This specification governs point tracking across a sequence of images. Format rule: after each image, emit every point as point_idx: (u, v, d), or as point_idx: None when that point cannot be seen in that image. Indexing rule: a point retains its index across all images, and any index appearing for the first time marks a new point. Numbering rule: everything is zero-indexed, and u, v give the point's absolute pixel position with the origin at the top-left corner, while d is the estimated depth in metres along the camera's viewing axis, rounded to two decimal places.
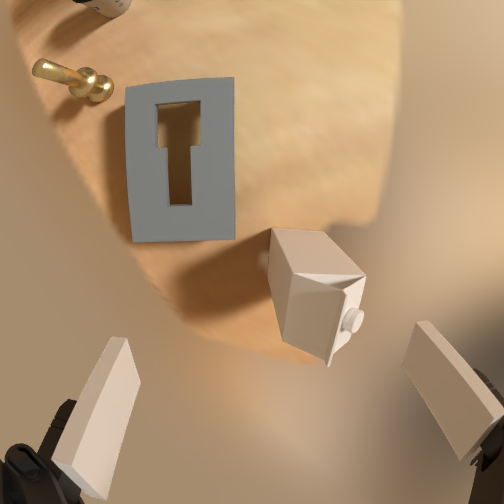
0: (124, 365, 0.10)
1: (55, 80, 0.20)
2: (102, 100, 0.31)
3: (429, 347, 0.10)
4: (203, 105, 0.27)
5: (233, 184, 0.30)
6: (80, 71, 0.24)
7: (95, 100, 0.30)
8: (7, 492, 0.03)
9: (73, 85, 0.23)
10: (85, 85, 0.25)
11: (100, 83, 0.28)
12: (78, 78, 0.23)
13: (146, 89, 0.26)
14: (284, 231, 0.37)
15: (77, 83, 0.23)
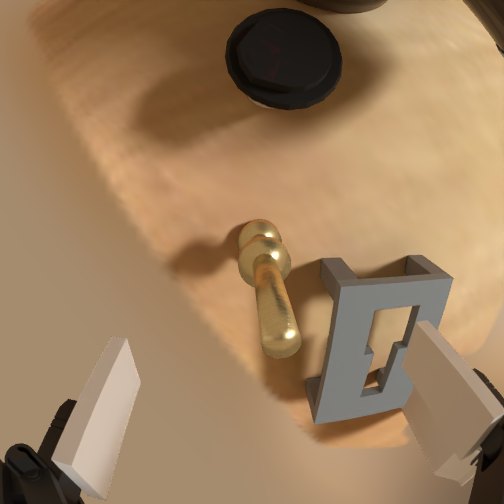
0: (124, 365, 0.10)
1: None
2: None
3: (429, 346, 0.10)
4: (421, 310, 0.23)
5: None
6: (261, 246, 0.21)
7: None
8: (7, 492, 0.03)
9: None
10: None
11: None
12: None
13: (368, 292, 0.22)
14: None
15: None
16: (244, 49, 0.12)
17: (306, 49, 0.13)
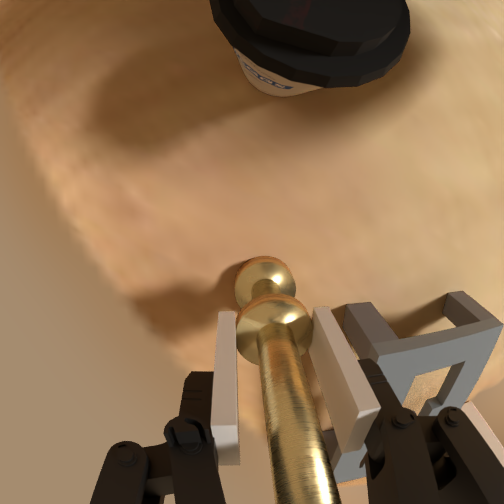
0: (235, 336, 0.13)
1: None
2: None
3: (320, 331, 0.12)
4: (465, 366, 0.16)
5: None
6: (270, 312, 0.13)
7: None
8: (139, 486, 0.05)
9: None
10: None
11: None
12: None
13: (411, 357, 0.15)
14: None
15: None
16: None
17: None
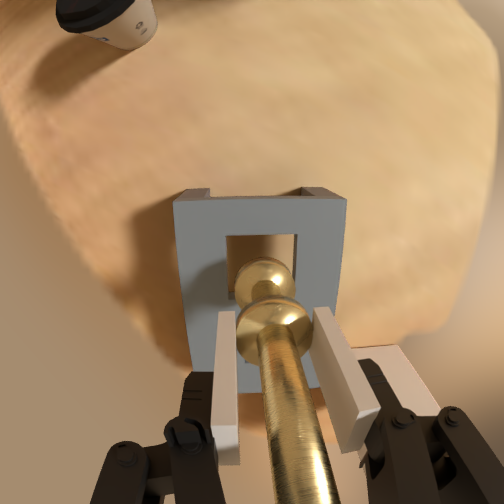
0: (235, 336, 0.13)
1: None
2: None
3: (320, 331, 0.12)
4: (301, 242, 0.20)
5: None
6: (270, 314, 0.13)
7: None
8: (139, 486, 0.05)
9: None
10: None
11: None
12: None
13: (209, 209, 0.19)
14: (363, 356, 0.30)
15: None
16: None
17: None
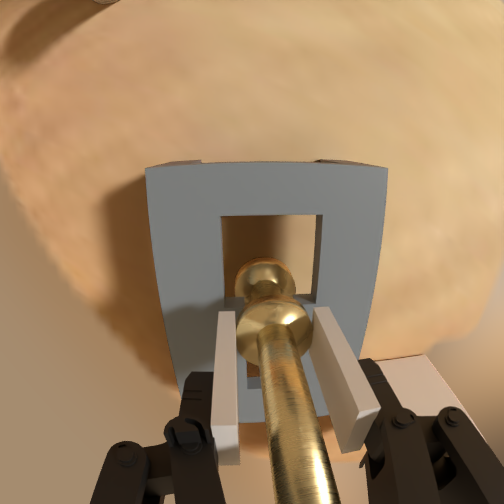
0: (235, 336, 0.13)
1: None
2: None
3: (320, 331, 0.12)
4: (328, 227, 0.14)
5: (358, 356, 0.17)
6: (270, 313, 0.13)
7: None
8: (139, 486, 0.05)
9: None
10: None
11: (281, 295, 0.17)
12: None
13: (197, 178, 0.13)
14: (389, 370, 0.24)
15: None
16: None
17: None
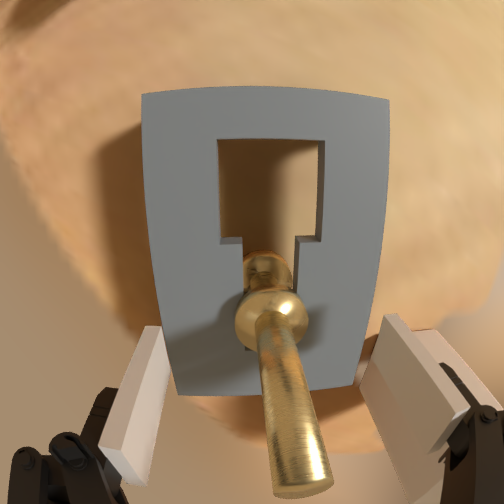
0: (159, 352, 0.11)
1: None
2: None
3: (395, 339, 0.11)
4: (331, 154, 0.13)
5: (369, 311, 0.16)
6: (267, 301, 0.14)
7: None
8: (43, 487, 0.04)
9: None
10: None
11: None
12: None
13: (194, 101, 0.12)
14: None
15: None
16: None
17: None
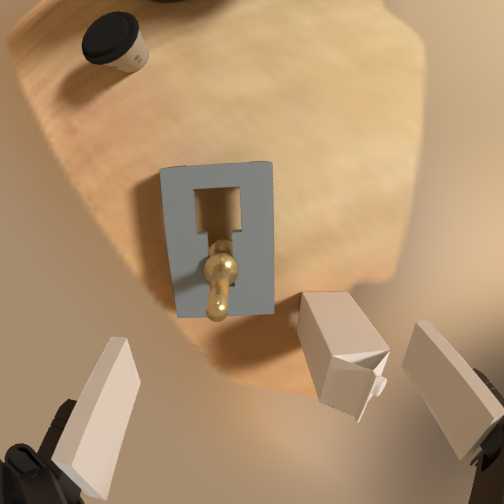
0: (124, 365, 0.10)
1: None
2: None
3: (429, 346, 0.10)
4: (243, 192, 0.31)
5: (273, 267, 0.34)
6: (217, 258, 0.32)
7: None
8: (7, 492, 0.03)
9: None
10: None
11: None
12: None
13: (182, 172, 0.30)
14: (314, 296, 0.40)
15: None
16: (84, 40, 0.20)
17: (111, 30, 0.20)
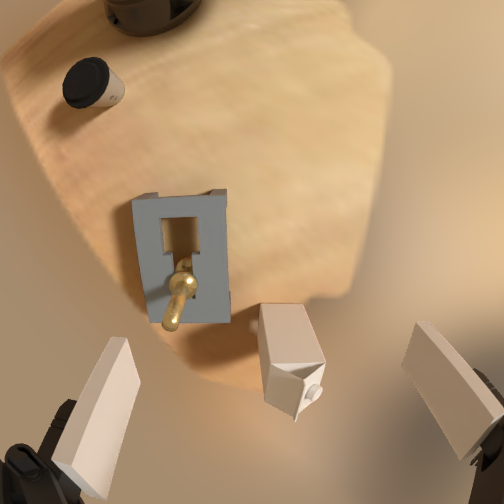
0: (124, 365, 0.10)
1: None
2: None
3: (429, 347, 0.10)
4: (200, 221, 0.36)
5: (227, 284, 0.39)
6: (179, 276, 0.37)
7: None
8: (6, 492, 0.03)
9: None
10: (188, 291, 0.38)
11: (192, 272, 0.41)
12: (186, 295, 0.36)
13: (150, 204, 0.35)
14: (270, 308, 0.45)
15: None
16: (63, 86, 0.25)
17: (85, 78, 0.25)
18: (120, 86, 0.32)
